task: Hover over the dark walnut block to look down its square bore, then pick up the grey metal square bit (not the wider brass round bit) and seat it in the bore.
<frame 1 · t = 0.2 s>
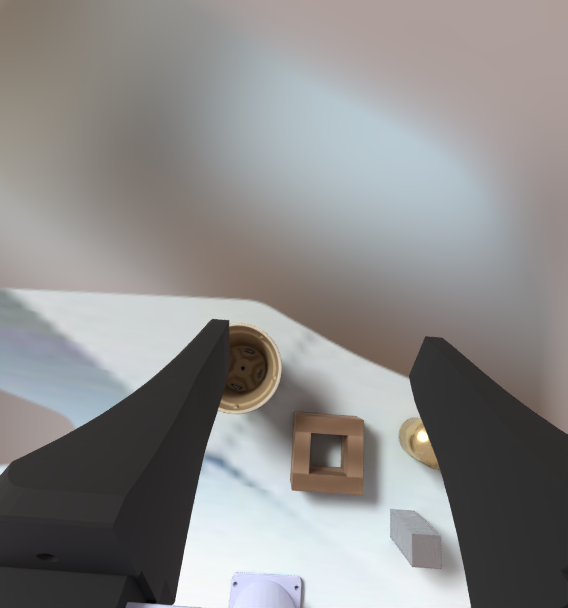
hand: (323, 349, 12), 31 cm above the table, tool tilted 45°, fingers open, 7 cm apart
square bit: (402, 523, 38), on the table
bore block: (323, 447, 40), on the table
flower pot: (244, 368, 42), on the table
round bit: (417, 437, 40), on the table
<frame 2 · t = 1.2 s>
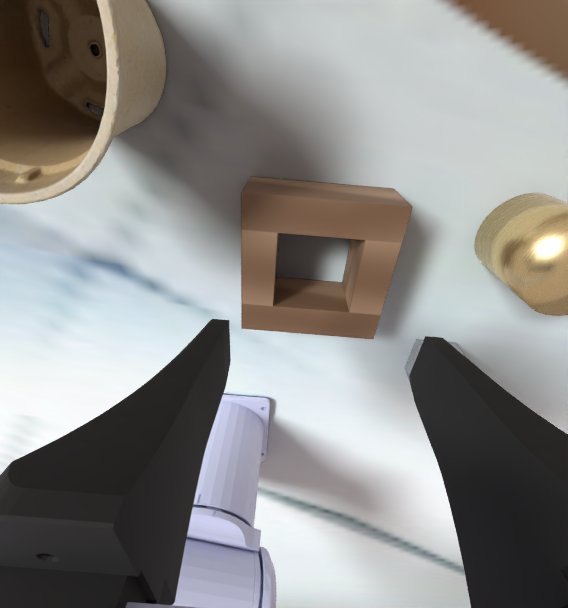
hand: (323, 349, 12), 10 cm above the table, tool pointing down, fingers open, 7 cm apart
square bit: (429, 355, 24), on the table
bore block: (313, 249, 20), on the table
flower pot: (105, 51, 15), on the table
round bit: (517, 234, 19), on the table
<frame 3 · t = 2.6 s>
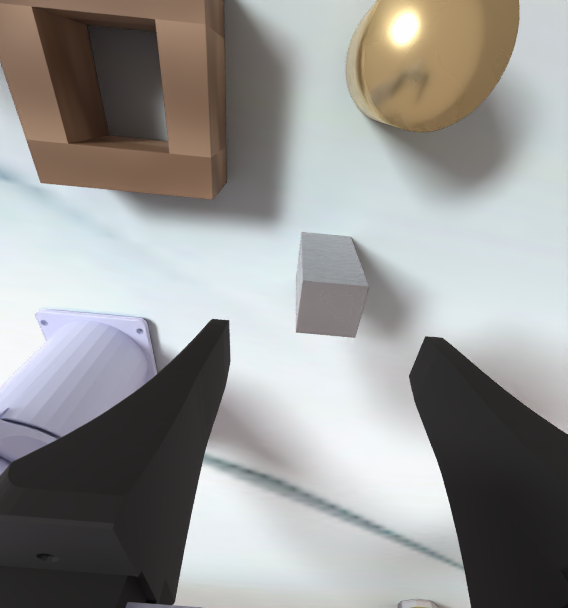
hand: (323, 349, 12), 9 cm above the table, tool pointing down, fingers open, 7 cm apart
square bit: (322, 256, 20), on the table
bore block: (143, 88, 15), on the table
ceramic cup: (408, 602, 58), on the table
round bit: (398, 62, 14), on the table
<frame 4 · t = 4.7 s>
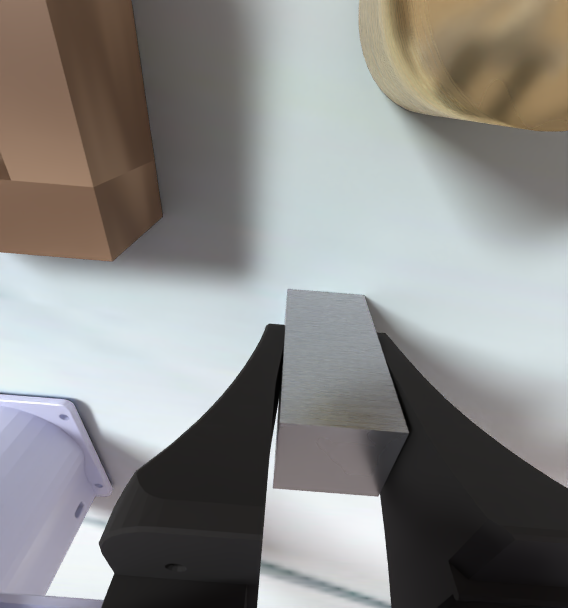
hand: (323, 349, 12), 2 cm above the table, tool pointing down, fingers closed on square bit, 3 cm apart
square bit: (320, 322, 13), on the table, touching gripper
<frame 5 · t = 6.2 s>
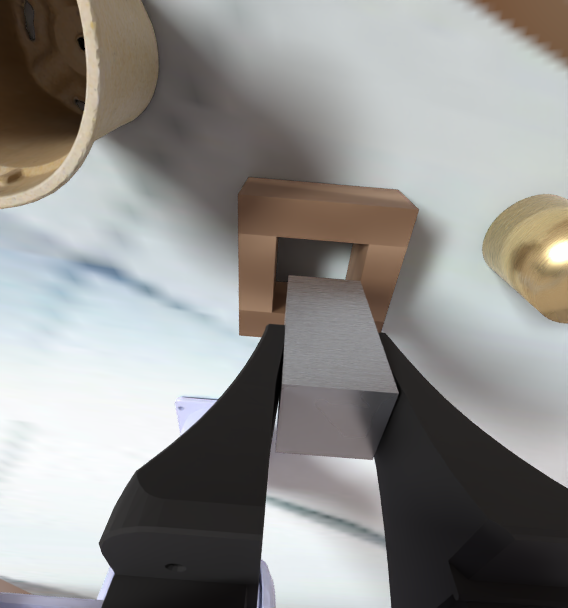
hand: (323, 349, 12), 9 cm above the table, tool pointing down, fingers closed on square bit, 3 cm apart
square bit: (319, 307, 14), point 6 cm above the table, touching gripper
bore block: (314, 252, 19), on the table
flower pot: (94, 45, 14), on the table
round bit: (527, 237, 18), on the table
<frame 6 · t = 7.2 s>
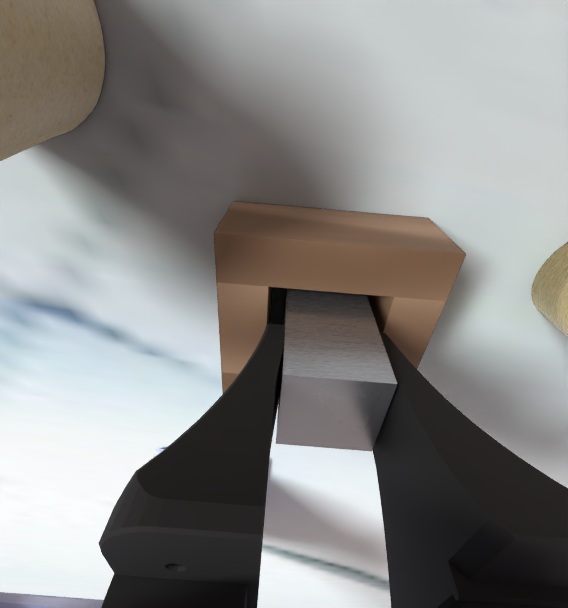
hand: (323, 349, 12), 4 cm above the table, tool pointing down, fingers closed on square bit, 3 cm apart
square bit: (319, 303, 14), point 1 cm above the table, touching gripper
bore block: (318, 292, 15), on the table
flower pot: (16, 25, 10), on the table
when the fingers open (4 cm above the table, at t = 7.7 s): square bit drops 1 cm, resting in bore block.
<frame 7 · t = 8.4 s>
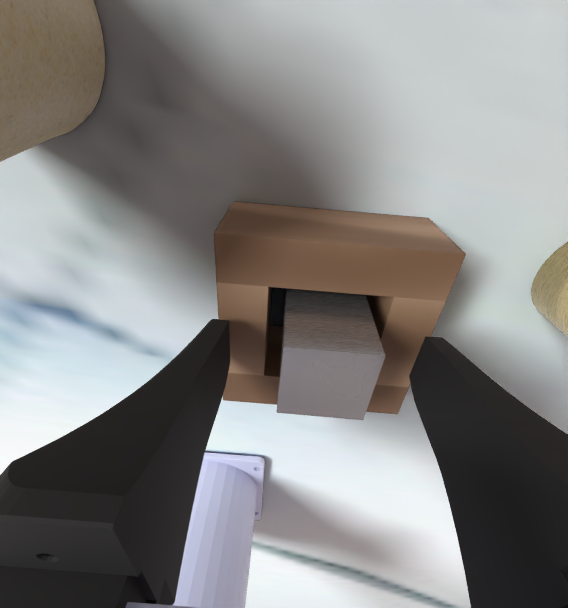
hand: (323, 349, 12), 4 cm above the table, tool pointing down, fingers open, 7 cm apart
square bit: (317, 289, 15), resting in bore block
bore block: (318, 292, 15), on the table
flower pot: (16, 26, 10), on the table
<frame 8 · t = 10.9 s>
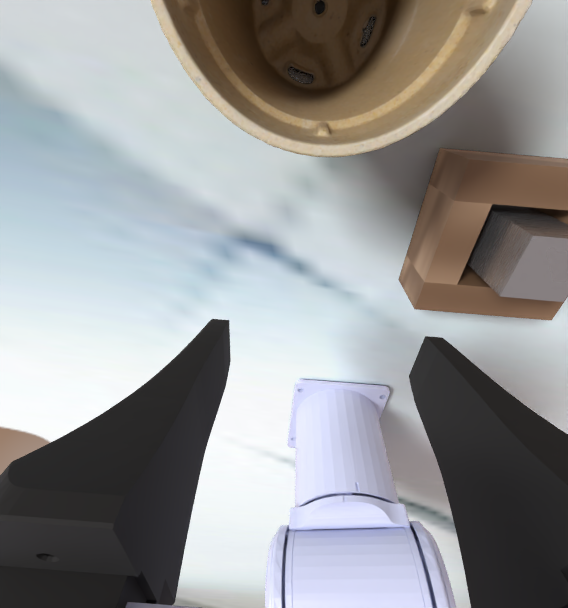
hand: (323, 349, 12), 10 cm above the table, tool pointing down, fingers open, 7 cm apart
square bit: (483, 224, 19), resting in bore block
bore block: (482, 227, 19), on the table
flower pot: (321, 10, 14), on the table
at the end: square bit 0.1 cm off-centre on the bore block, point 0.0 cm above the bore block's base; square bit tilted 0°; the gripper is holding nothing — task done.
